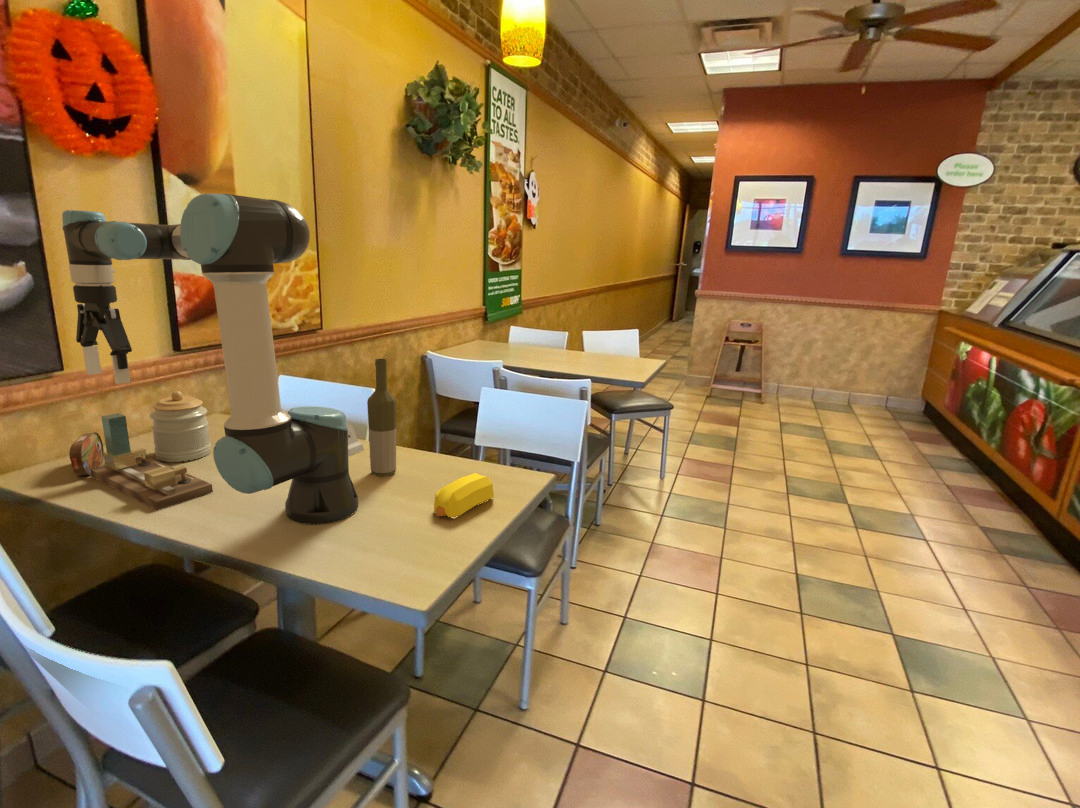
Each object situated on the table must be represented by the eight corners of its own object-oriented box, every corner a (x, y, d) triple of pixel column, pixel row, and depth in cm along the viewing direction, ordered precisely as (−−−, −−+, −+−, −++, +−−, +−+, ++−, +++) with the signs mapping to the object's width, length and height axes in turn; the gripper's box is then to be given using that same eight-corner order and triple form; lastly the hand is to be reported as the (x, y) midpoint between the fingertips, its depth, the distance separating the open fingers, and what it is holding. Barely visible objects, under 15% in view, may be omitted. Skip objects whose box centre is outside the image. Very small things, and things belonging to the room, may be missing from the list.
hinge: (320, 467, 151) (309, 431, 150) (308, 469, 153) (297, 434, 152) (365, 449, 166) (354, 416, 165) (353, 451, 168) (343, 419, 167)
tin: (87, 480, 137) (81, 446, 134) (71, 481, 135) (65, 447, 133) (106, 458, 150) (101, 427, 148) (91, 459, 149) (86, 428, 147)
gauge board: (212, 492, 133) (210, 467, 132) (157, 510, 123) (153, 483, 122) (145, 463, 148) (142, 440, 147) (91, 477, 138) (87, 452, 137)
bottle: (363, 475, 147) (360, 360, 139) (379, 466, 154) (376, 356, 146) (387, 480, 145) (385, 363, 137) (402, 470, 151) (401, 358, 144)
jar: (172, 467, 147) (164, 400, 142) (145, 456, 153) (136, 391, 148) (221, 453, 158) (215, 390, 153) (194, 443, 164) (187, 383, 159)
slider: (151, 463, 141) (144, 413, 138) (116, 473, 135) (107, 420, 131) (141, 459, 144) (134, 409, 140) (105, 468, 137) (97, 416, 134)
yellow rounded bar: (424, 516, 127) (450, 526, 124) (424, 488, 126) (451, 497, 122) (476, 490, 142) (501, 498, 138) (476, 465, 140) (502, 472, 136)
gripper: (141, 288, 124) (154, 383, 129) (87, 280, 136) (101, 368, 141) (101, 289, 117) (116, 389, 123) (48, 280, 130) (64, 372, 135)
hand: (108, 378), depth 132 cm, fingers open, 13 cm apart
